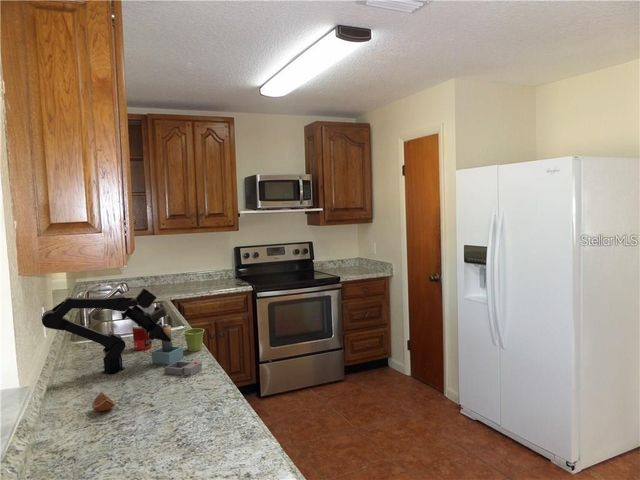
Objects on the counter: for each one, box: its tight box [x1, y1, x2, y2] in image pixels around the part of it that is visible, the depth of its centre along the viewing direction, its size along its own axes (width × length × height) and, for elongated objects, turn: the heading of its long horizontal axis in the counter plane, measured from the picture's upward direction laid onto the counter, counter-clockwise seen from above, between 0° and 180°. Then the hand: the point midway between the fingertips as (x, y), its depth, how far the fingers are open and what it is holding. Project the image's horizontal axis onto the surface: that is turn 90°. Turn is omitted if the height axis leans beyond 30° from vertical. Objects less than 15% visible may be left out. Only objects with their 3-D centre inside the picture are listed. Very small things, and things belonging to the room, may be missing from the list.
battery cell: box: [161, 323, 173, 353], centre depth 201 cm, size 4×4×13 cm
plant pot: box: [182, 328, 205, 353], centre depth 215 cm, size 9×9×9 cm
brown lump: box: [91, 391, 116, 412], centre depth 154 cm, size 8×7×5 cm
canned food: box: [132, 323, 153, 352], centre depth 221 cm, size 8×8×11 cm
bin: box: [151, 345, 184, 366], centre depth 201 cm, size 9×9×5 cm
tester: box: [163, 360, 203, 377], centre depth 187 cm, size 8×12×4 cm, turn 68°
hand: (169, 339), depth 201 cm, fingers closed on battery cell, 4 cm apart
